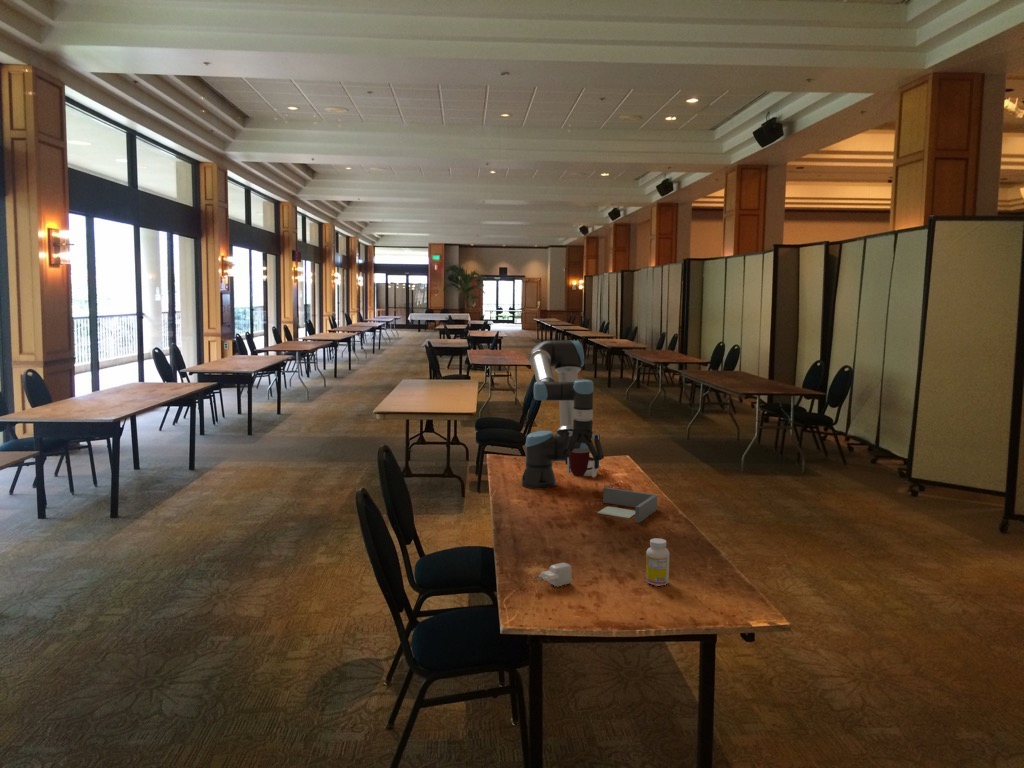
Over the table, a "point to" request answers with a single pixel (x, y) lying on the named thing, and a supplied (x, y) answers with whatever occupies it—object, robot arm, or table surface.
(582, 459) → the mug
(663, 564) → the supplement bottle
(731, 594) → the table surface
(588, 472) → the white lidded pot
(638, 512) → the corner arena
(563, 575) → the power adapter
